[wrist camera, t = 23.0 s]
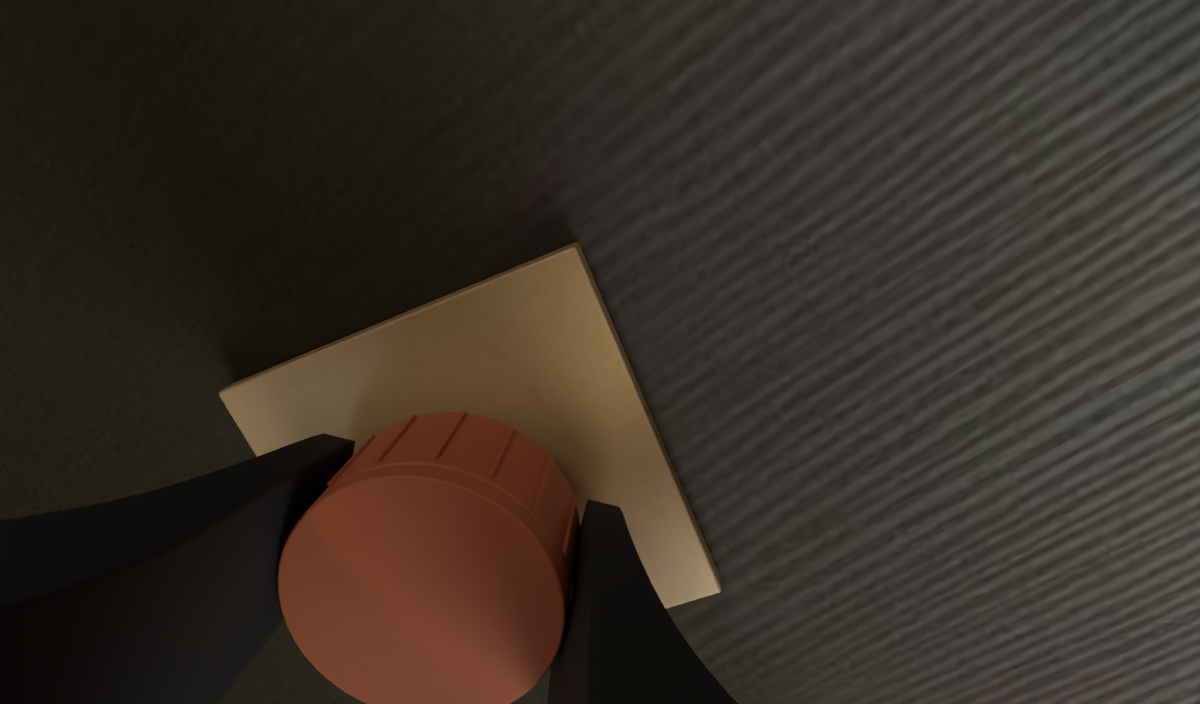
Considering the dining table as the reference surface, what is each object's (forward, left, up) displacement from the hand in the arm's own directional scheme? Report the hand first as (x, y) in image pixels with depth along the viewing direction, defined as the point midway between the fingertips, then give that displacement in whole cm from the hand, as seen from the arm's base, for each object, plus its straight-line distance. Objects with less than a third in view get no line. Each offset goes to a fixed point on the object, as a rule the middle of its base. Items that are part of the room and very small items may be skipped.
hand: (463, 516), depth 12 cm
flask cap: (0, 0, +2) cm, 2 cm away
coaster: (0, 0, -1) cm, 1 cm away
